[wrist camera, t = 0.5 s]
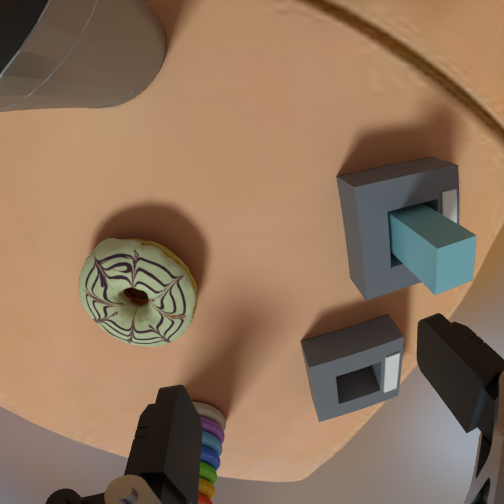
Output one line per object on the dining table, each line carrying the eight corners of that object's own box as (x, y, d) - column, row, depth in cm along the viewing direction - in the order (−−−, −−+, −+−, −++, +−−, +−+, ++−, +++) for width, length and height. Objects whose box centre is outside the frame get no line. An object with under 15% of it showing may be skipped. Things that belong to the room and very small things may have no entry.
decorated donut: (92, 218, 25) (75, 233, 22) (209, 244, 27) (207, 264, 24) (87, 313, 29) (75, 336, 26) (187, 337, 31) (185, 362, 28)
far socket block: (300, 341, 32) (309, 368, 29) (388, 314, 32) (404, 337, 28) (312, 397, 37) (319, 423, 33) (386, 373, 36) (398, 396, 33)
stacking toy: (215, 393, 35) (219, 543, 18) (232, 428, 38) (241, 555, 21) (154, 401, 35) (135, 540, 18) (177, 435, 38) (171, 556, 21)
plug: (374, 203, 27) (437, 248, 18) (407, 195, 27) (476, 235, 18) (378, 247, 29) (434, 304, 20) (410, 238, 29) (471, 289, 20)
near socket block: (336, 176, 26) (355, 187, 22) (432, 157, 25) (459, 165, 22) (350, 278, 30) (366, 301, 26) (435, 251, 30) (457, 269, 26)
